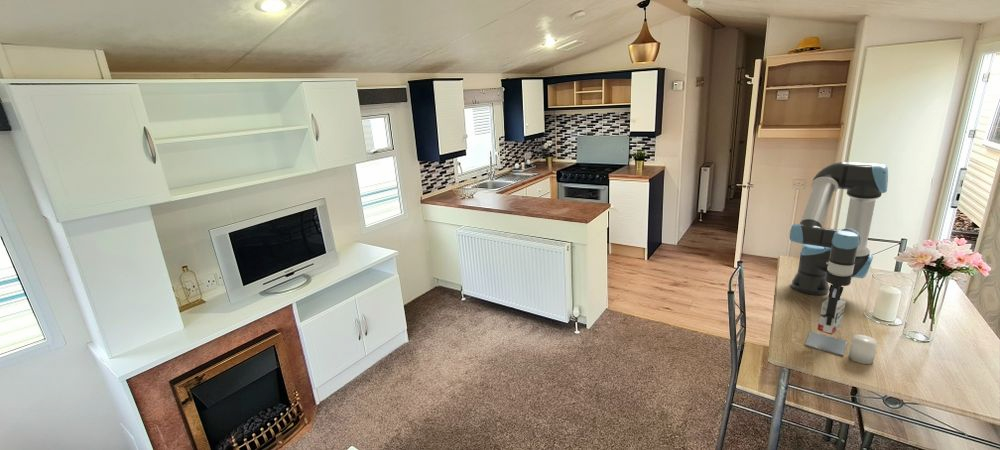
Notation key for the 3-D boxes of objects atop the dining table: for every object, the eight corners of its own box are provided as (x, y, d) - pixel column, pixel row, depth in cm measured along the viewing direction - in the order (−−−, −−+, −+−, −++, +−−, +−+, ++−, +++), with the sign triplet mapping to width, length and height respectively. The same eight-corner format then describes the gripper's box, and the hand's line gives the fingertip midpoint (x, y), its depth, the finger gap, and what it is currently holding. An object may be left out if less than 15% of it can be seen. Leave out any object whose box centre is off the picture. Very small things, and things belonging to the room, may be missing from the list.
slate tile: (810, 332, 180) (810, 331, 179) (846, 342, 172) (847, 341, 172) (804, 345, 171) (804, 344, 171) (843, 356, 163) (843, 355, 163)
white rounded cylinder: (849, 351, 166) (853, 332, 164) (873, 357, 162) (877, 338, 160) (848, 360, 161) (852, 340, 159) (873, 366, 157) (877, 346, 154)
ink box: (831, 335, 165) (836, 307, 162) (816, 329, 169) (821, 302, 166) (841, 327, 170) (846, 300, 166) (826, 322, 174) (831, 295, 170)
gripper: (831, 261, 173) (821, 312, 179) (822, 280, 157) (812, 335, 164) (855, 265, 168) (844, 318, 174) (848, 285, 152) (837, 342, 159)
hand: (829, 326), depth 169 cm, fingers closed on ink box, 9 cm apart
